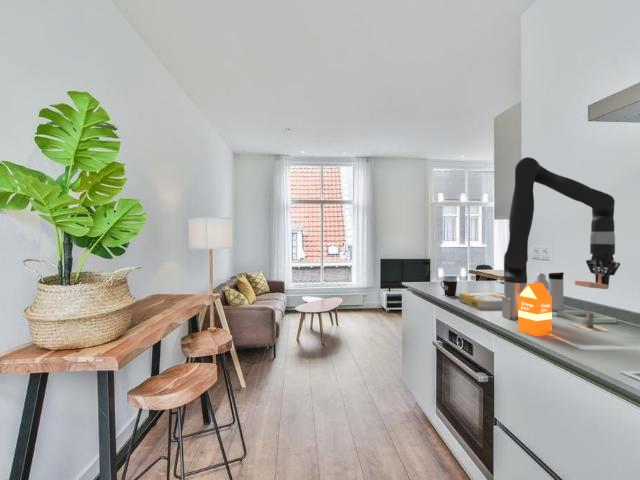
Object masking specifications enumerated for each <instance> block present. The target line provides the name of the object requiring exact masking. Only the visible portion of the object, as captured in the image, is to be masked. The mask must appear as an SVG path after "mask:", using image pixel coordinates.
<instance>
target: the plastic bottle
mask: <svg viewBox="0 0 640 480" xmlns="http://www.w3.org/2000/svg"><path fill="white" fill-rule="evenodd" d="M546 276H547V275H546V273H536V279H535V281H534V282H533V283H543V285H544V286H545V288H546V290H547V291H548V289H549V283H548V280H547V277H546Z"/></svg>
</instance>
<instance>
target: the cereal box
mask: <svg viewBox="0 0 640 480" xmlns="http://www.w3.org/2000/svg"><path fill="white" fill-rule="evenodd" d="M458 295H459V296H458V301H459V302H460V303H463V304H464V303H465V304H464V305H466V304H467V306H468V305H469V307H471V306H472V307H471V308H473V307H474V308H473V309H475V308H477V309H476V310H502V297H504V293H502V292H501V293H499V292H498V293H497V292H495V293H492V292H491V293H487V292H483V293H482V292H480V293H478V292H477V293H476V292H475V293H473V292H472V293H471V292H470V293H469V292H465V293H463V292H461V293H458Z"/></svg>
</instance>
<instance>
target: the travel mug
mask: <svg viewBox="0 0 640 480" xmlns="http://www.w3.org/2000/svg"><path fill="white" fill-rule="evenodd" d="M564 275H565V273H564V272H550V273H548V280H547V282H548V283H549V289H548V293H549V294H550V296H551V297H552V312H556V313H557V311H564Z"/></svg>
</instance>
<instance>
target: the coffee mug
mask: <svg viewBox="0 0 640 480" xmlns="http://www.w3.org/2000/svg"><path fill="white" fill-rule="evenodd" d="M442 283H443V285H442ZM457 284H458V280H455V279H443V280H442V281H440V286H441V288H442V289H443V291H444V296H445V295H447V296H446V297H449V296H455V297H456V294H457Z"/></svg>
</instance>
